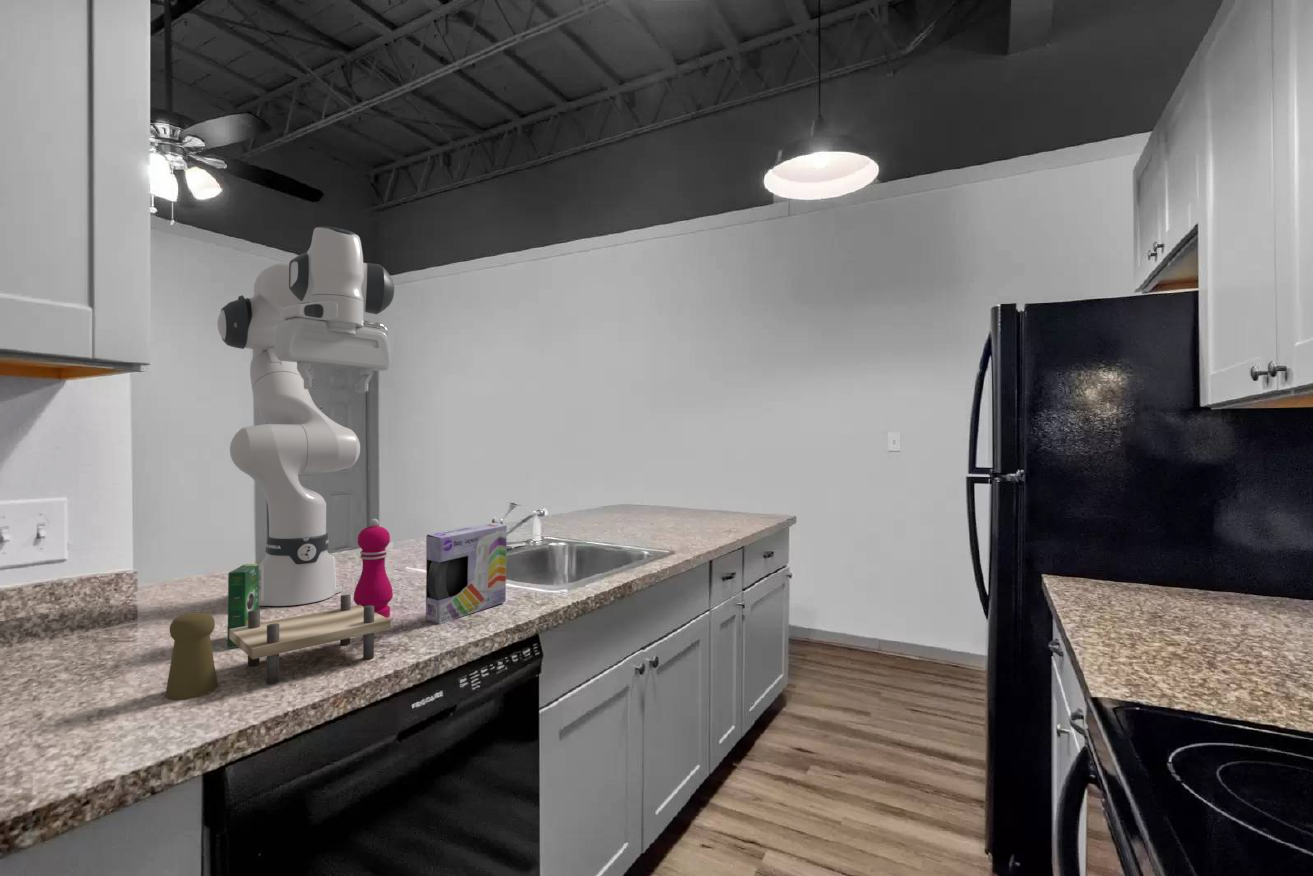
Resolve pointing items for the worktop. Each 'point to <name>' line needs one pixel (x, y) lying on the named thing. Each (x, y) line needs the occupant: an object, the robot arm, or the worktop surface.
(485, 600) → the cake pan box
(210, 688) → the cork
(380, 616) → the spice riser
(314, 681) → the worktop surface
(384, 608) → the pepper mill
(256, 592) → the coffee box
